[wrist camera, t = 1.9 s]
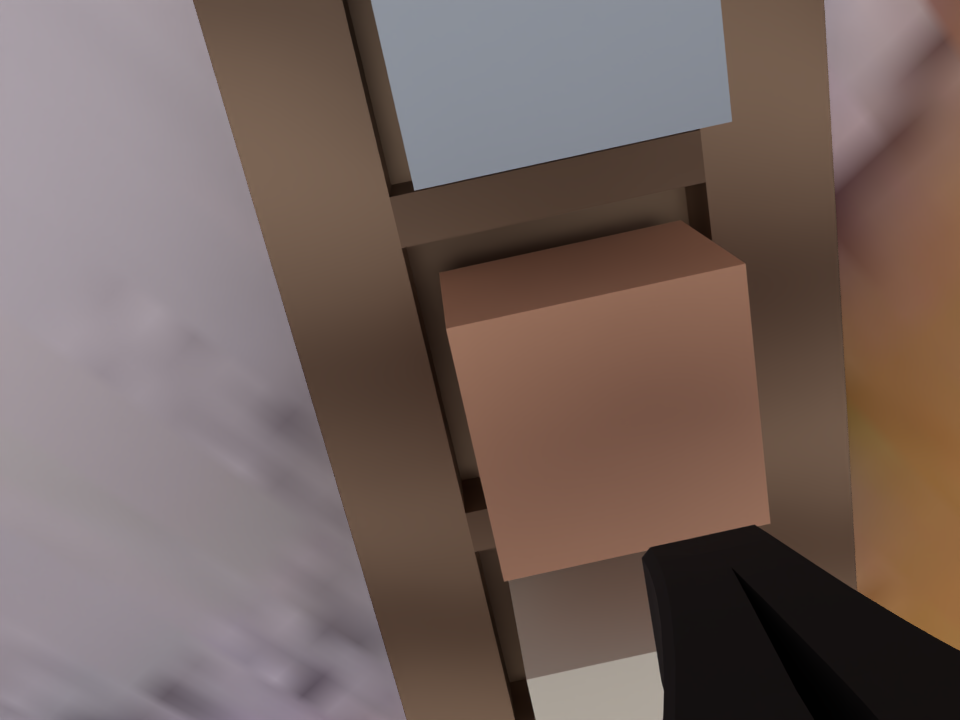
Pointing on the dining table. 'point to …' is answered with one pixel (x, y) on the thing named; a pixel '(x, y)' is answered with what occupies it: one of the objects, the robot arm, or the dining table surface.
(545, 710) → the cream block
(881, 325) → the dining table surface
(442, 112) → the button slate
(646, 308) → the salmon brown square block
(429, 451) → the board
